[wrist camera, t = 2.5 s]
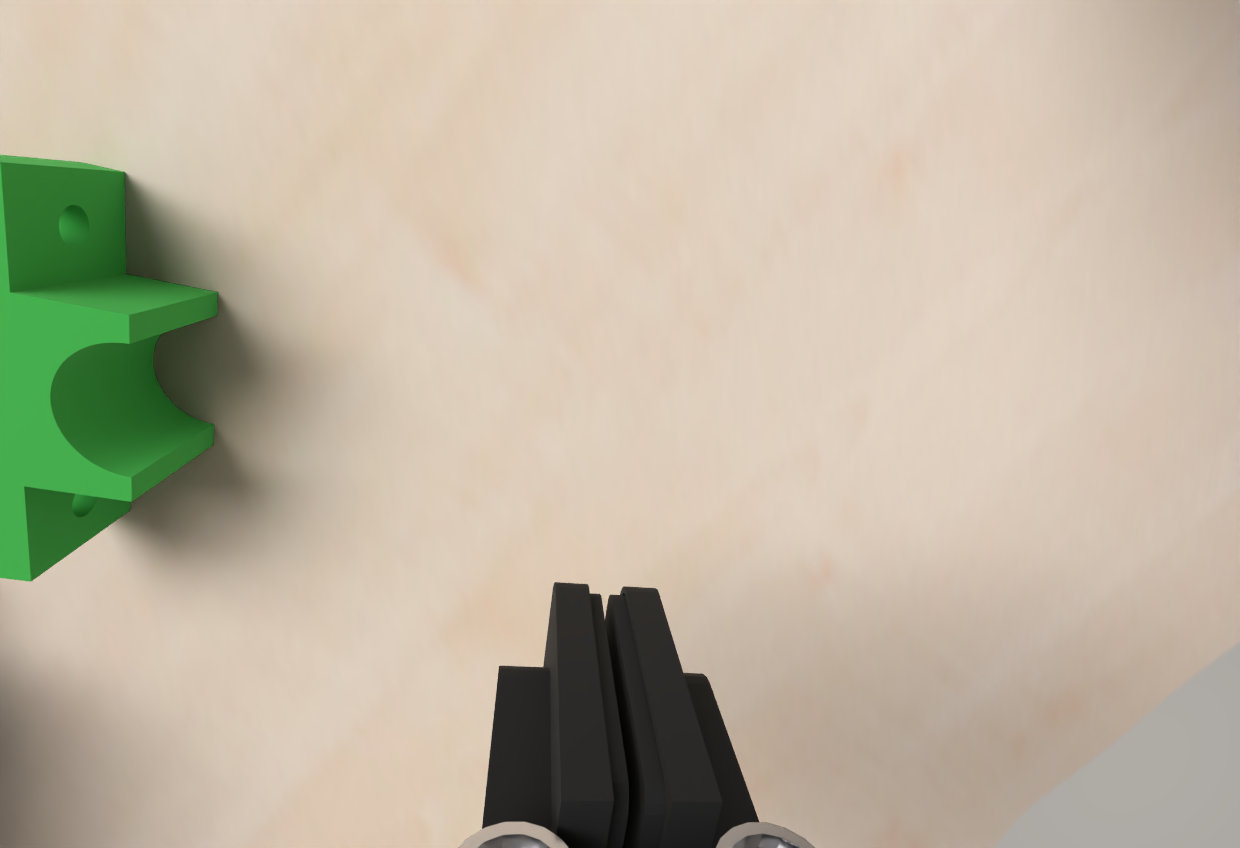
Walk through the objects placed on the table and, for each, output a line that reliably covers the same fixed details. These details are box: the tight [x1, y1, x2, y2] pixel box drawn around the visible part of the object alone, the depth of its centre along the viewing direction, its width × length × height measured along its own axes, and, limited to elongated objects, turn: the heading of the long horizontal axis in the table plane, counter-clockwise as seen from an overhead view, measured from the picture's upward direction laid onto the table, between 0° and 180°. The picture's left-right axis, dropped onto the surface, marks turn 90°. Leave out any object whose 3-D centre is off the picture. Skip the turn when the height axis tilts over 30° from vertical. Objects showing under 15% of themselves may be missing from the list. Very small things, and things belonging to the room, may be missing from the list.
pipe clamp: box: [0, 155, 218, 581], centre depth 17 cm, size 10×4×4 cm, turn 167°
